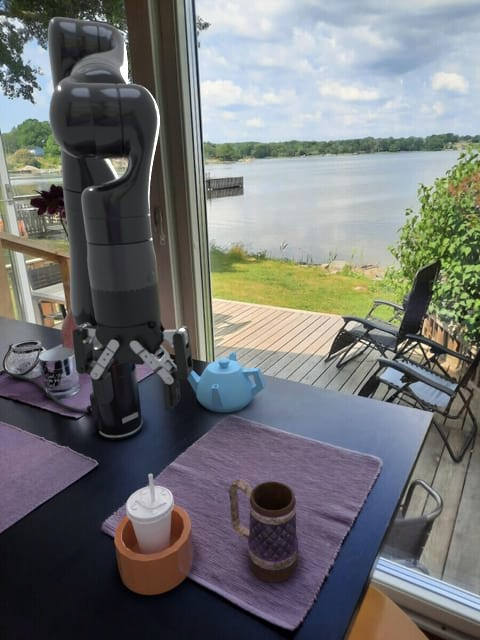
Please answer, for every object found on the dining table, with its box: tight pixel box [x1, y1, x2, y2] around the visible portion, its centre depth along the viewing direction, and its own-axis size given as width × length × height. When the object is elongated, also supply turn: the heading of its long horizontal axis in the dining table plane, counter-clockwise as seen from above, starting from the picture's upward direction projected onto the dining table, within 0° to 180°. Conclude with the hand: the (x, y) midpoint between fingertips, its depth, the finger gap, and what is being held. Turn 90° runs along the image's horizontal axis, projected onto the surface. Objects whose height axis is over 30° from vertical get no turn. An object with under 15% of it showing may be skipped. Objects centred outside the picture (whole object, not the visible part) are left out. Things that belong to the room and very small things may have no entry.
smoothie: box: [125, 473, 175, 555], centre depth 61 cm, size 6×6×14 cm
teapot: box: [186, 351, 266, 413], centre depth 105 cm, size 15×15×11 cm
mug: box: [228, 478, 299, 583], centre depth 61 cm, size 10×7×12 cm
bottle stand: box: [113, 504, 194, 596], centre depth 62 cm, size 10×10×6 cm
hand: (138, 404), depth 56 cm, fingers open, 8 cm apart
